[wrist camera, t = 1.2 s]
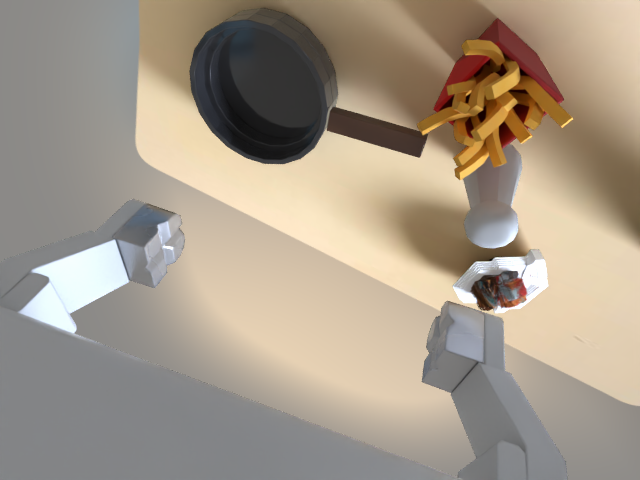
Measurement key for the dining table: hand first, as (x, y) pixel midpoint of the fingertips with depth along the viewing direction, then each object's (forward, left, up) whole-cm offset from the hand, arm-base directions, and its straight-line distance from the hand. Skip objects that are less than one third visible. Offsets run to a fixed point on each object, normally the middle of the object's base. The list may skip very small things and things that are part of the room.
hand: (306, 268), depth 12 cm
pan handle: (+12, -1, -30) cm, 33 cm away
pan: (+12, -14, -34) cm, 38 cm away
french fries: (+4, +6, -34) cm, 34 cm away
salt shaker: (+13, +11, -34) cm, 38 cm away
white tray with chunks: (+28, +19, -34) cm, 48 cm away
